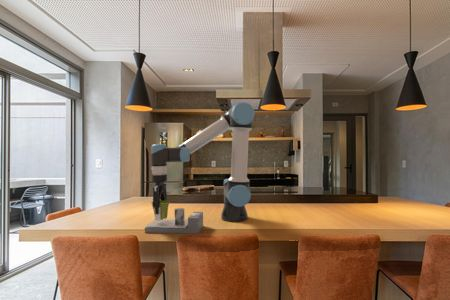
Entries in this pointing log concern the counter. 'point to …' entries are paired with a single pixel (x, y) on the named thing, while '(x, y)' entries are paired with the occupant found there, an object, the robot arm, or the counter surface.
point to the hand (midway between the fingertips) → (160, 217)
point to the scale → (193, 227)
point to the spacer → (179, 216)
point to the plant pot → (163, 208)
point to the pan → (167, 224)
